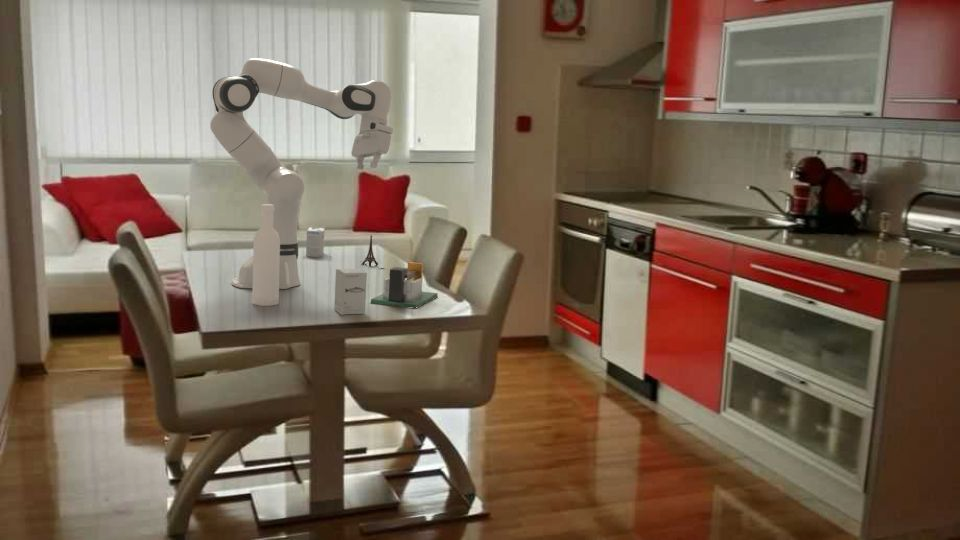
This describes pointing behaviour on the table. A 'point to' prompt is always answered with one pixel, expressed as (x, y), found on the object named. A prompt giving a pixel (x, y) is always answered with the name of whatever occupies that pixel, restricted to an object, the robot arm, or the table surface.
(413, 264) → the yellow rectangular block
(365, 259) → the eiffel tower figurine
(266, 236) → the bottle
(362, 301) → the supplement box
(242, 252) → the table surface
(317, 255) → the light bulb box
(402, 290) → the heatsink board
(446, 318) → the table surface
